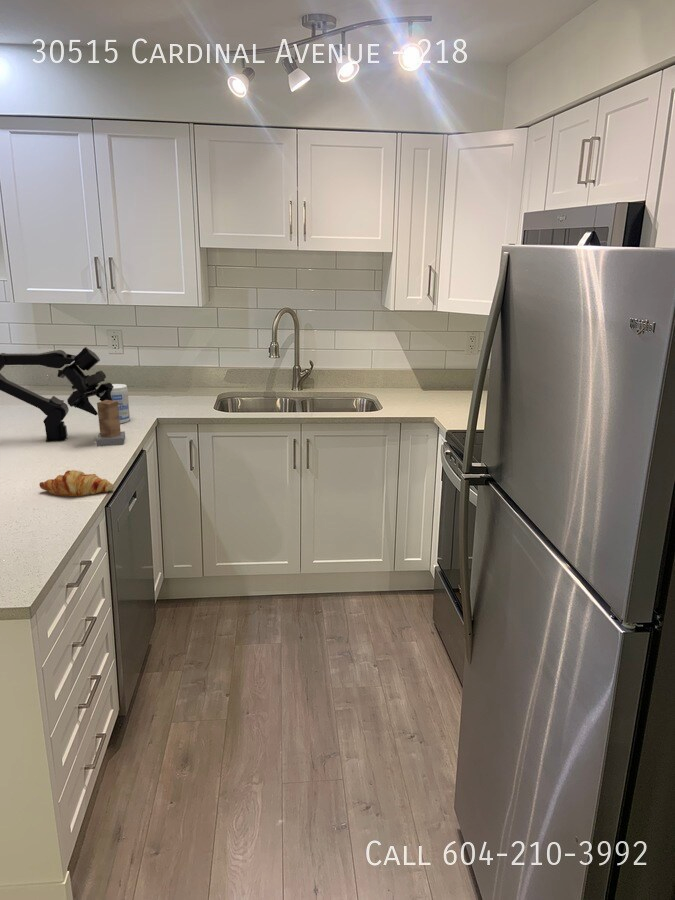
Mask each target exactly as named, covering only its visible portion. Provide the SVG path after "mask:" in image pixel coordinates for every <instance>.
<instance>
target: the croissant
mask: <svg viewBox="0 0 675 900" xmlns="http://www.w3.org/2000/svg"><path fill="white" fill-rule="evenodd" d="M39 488H40V489H41V490H44V491H46V492H48V493H49V494H52V495H55V496H61V497H83V496H88V495H95V494H100V493H107V492H110V491H112V490H114V488H115V485H114V484H113V483H111V482H110V480H108V479H106V478H101V477H99V476H98V475H97V474H96V473H91V474H89V473H88V474H87V473H84V472H83V471H81V470H75V469H72V470H66V471H65V473H64V474H63V475H62V474H61V475H60V474H59V475H57V476H56V477H55V478H52V479H51V478H50V479H47V480H45V481H41V482H39Z"/></svg>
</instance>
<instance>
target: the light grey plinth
mask: <svg viewBox="0 0 675 900" xmlns="http://www.w3.org/2000/svg"><path fill="white" fill-rule="evenodd" d="M125 440H126V431H121V434H120V435H118V436H115V437H113V438H108V437H101V436H100V432H98V434H97V437H96V447H107V446H122V445H124V444H125Z"/></svg>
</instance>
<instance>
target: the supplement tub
mask: <svg viewBox="0 0 675 900" xmlns="http://www.w3.org/2000/svg"><path fill="white" fill-rule="evenodd" d="M111 384H112V385H113V389H112V391H111V398H112V400H113V401H118V410H119V421H120V424H125V423H128V422H129V421H130V420H131V415H130V403H129V391H128V386H127V384H124V383H123V384H122V383H111Z"/></svg>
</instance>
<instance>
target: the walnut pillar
mask: <svg viewBox="0 0 675 900" xmlns="http://www.w3.org/2000/svg"><path fill="white" fill-rule="evenodd" d="M96 407H97V413H98V414H97V416H98V426H99V433H100V436H101V437H108V438H113V437H115V436H118V435H120V434H121V432H122V431H121V423H120V421H119V410H118V401H112V400H104V401H98V402H96Z"/></svg>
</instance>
